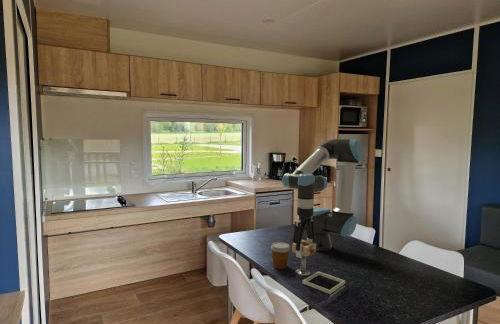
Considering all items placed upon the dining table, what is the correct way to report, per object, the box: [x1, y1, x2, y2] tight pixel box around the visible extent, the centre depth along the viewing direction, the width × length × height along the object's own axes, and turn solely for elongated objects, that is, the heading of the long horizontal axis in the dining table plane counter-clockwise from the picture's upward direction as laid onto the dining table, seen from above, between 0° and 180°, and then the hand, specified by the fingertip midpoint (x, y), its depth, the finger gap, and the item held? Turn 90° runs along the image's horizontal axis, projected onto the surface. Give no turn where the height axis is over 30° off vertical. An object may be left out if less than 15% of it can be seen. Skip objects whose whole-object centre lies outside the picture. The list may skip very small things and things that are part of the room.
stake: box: [294, 255, 311, 276], centre depth 150 cm, size 7×7×9 cm
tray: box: [301, 271, 346, 298], centre depth 139 cm, size 13×13×3 cm
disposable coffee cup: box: [270, 241, 291, 270], centre depth 156 cm, size 10×10×12 cm
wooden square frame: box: [291, 239, 317, 258], centre depth 149 cm, size 8×9×4 cm
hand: (303, 254), depth 149 cm, fingers closed on wooden square frame, 8 cm apart
